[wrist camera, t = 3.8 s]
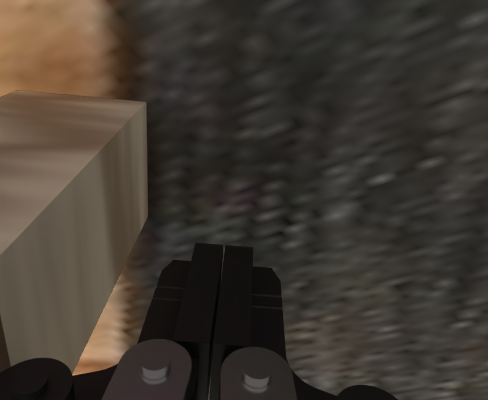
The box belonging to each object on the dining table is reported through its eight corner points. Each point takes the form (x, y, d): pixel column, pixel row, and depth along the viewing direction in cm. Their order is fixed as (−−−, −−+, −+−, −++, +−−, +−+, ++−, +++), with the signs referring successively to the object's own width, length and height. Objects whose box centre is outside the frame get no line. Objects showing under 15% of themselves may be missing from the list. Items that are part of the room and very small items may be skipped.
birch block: (146, 101, 17) (-49, 306, 6) (148, 216, 19) (5, 512, 9) (16, 90, 17) (-402, 274, 6) (33, 205, 19) (-256, 489, 8)
